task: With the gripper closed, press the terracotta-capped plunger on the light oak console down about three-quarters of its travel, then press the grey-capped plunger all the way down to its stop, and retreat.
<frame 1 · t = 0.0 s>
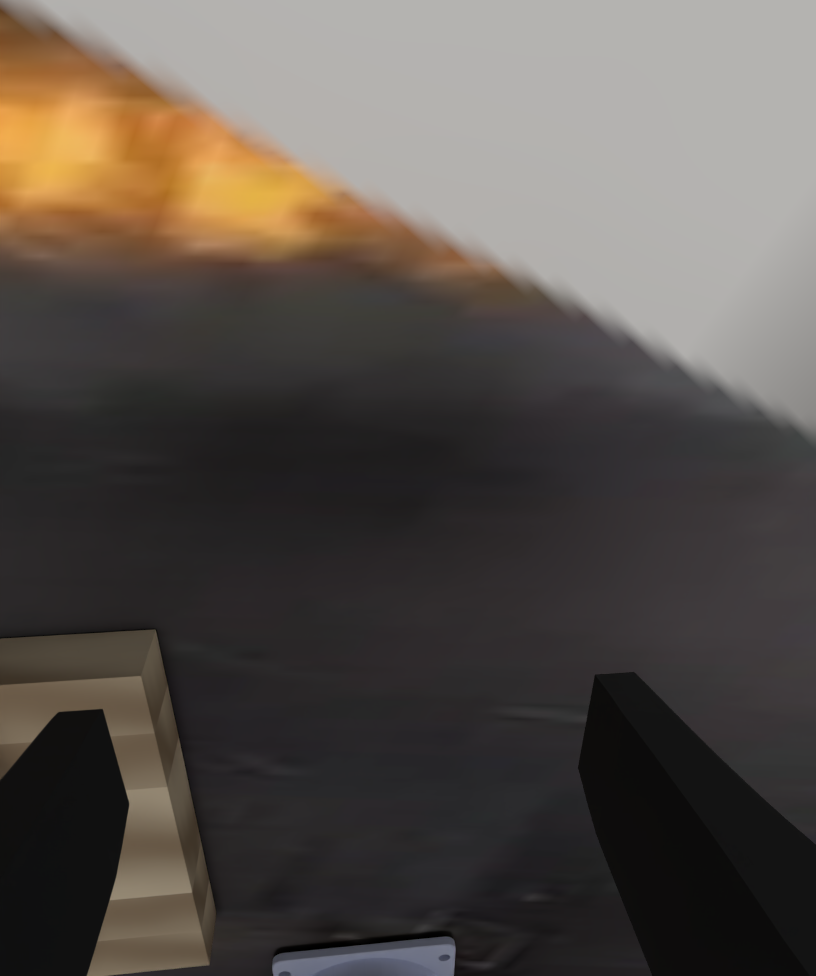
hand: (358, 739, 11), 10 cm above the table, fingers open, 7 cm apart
console: (15, 805, 25), on the table
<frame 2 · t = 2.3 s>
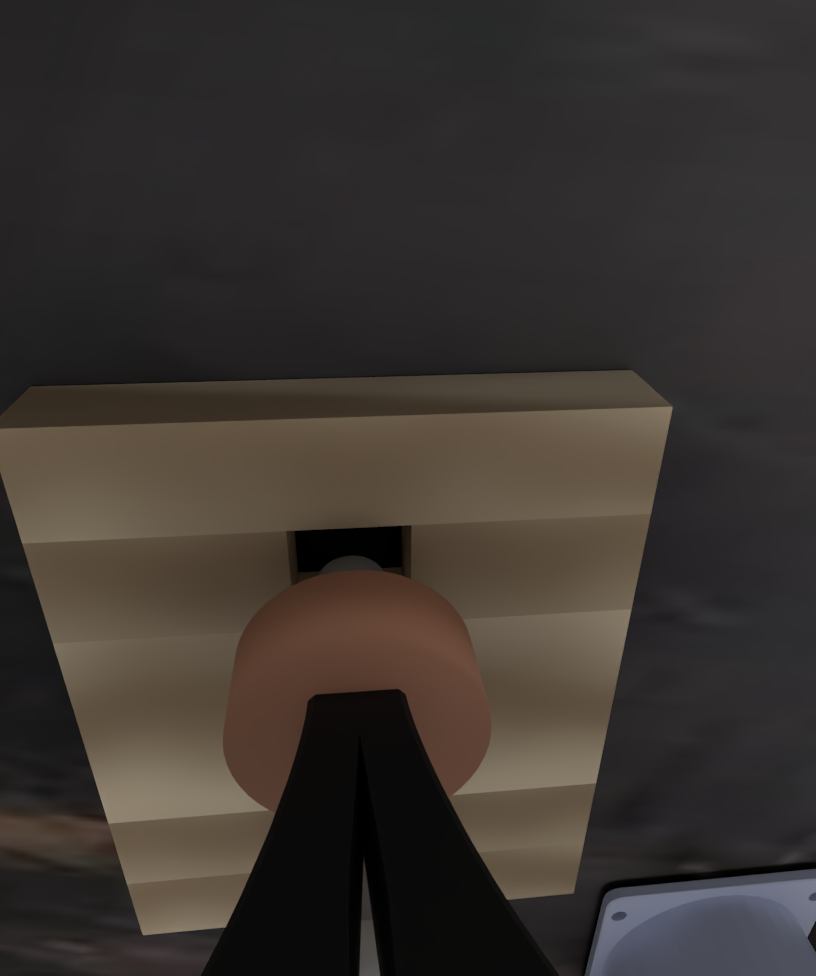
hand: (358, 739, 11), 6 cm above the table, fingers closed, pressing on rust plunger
grey plunger: (366, 956, 15), point 5 cm above the table, slide at 0.0 cm
rust plunger: (355, 652, 12), point 4 cm above the table, slide at 0.8 cm, touching gripper
console: (353, 660, 18), on the table
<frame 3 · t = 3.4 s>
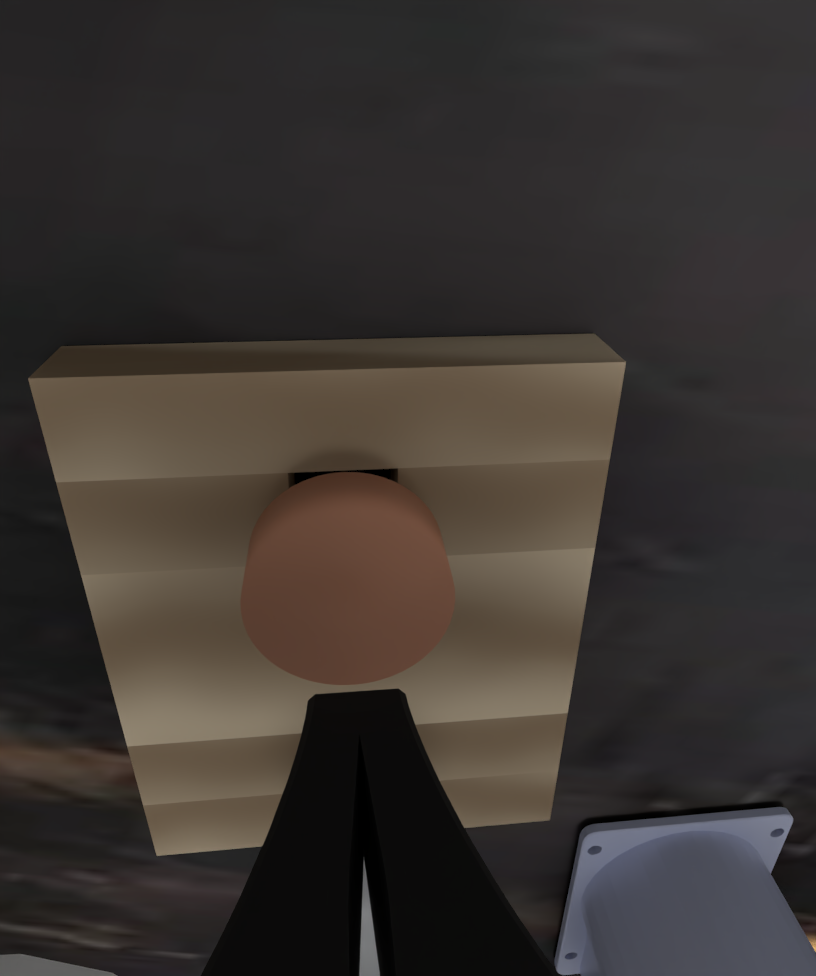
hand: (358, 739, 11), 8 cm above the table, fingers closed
grey plunger: (359, 858, 17), point 5 cm above the table, slide at 0.0 cm
rust plunger: (346, 547, 15), point 3 cm above the table, slide at 1.7 cm
console: (348, 602, 20), on the table
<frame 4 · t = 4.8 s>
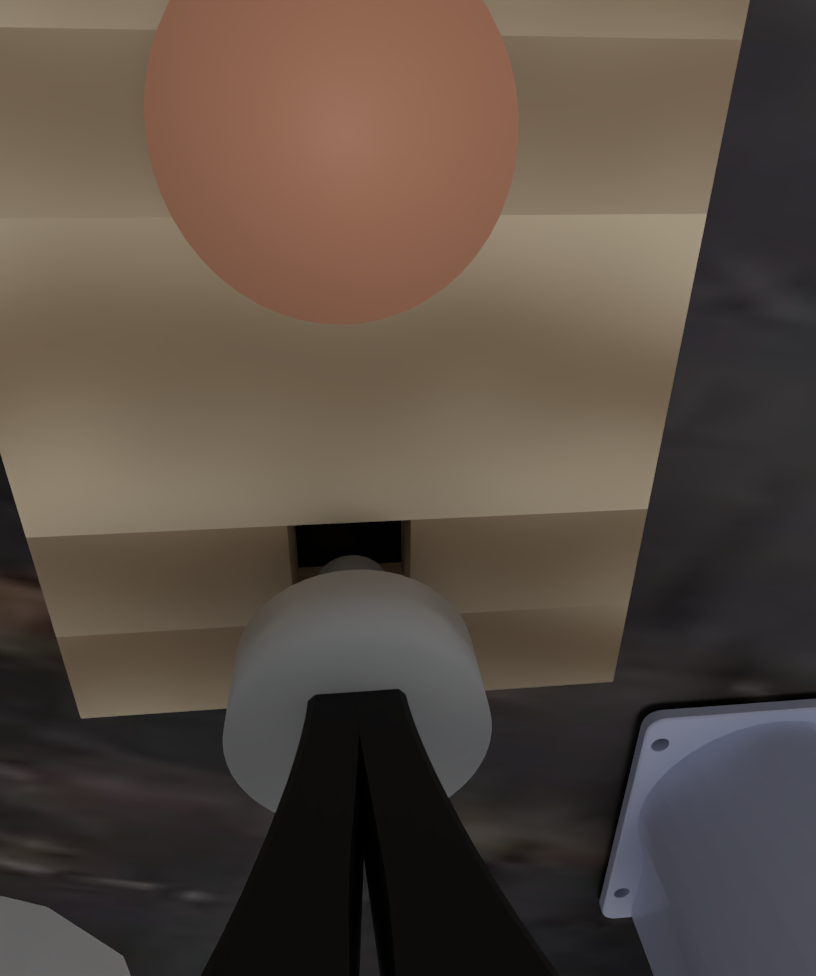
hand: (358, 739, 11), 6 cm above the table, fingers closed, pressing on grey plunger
grey plunger: (355, 652, 12), point 4 cm above the table, slide at 0.6 cm, touching gripper
rust plunger: (335, 133, 9), point 3 cm above the table, slide at 1.7 cm
console: (341, 350, 14), on the table
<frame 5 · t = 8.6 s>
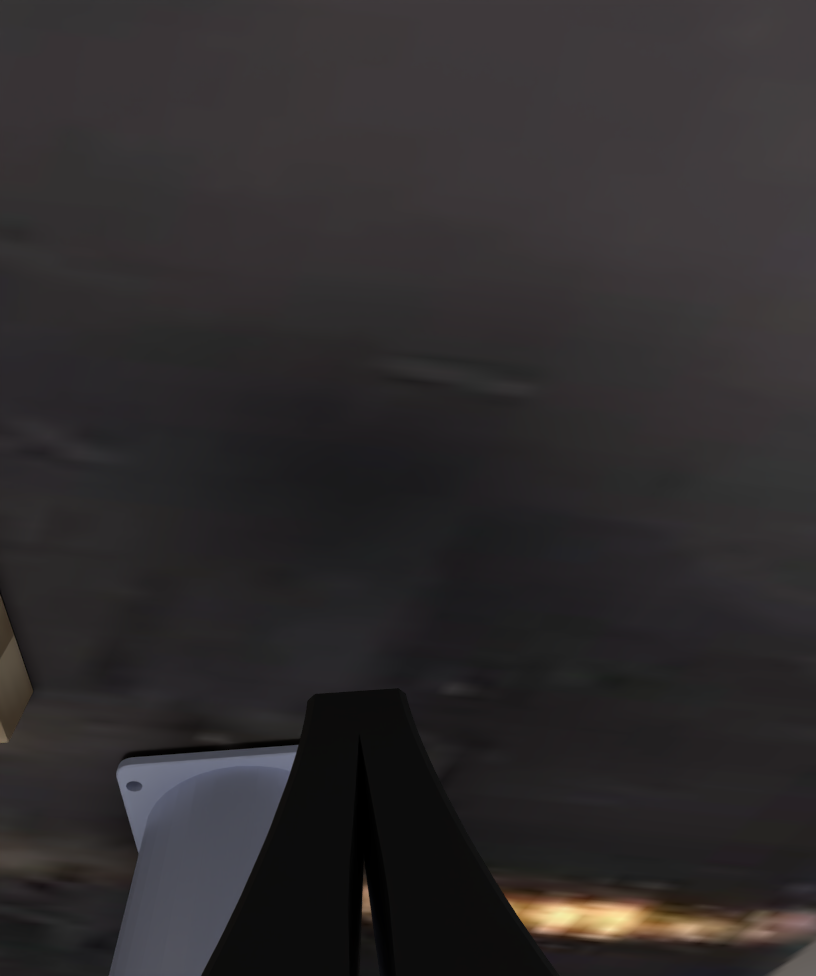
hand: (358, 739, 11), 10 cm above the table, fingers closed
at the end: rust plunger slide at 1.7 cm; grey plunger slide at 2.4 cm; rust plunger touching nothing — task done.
